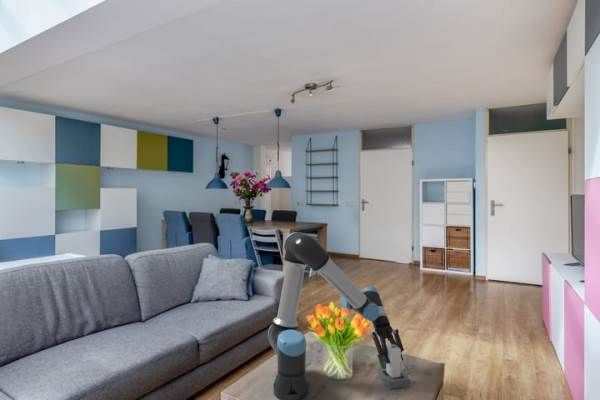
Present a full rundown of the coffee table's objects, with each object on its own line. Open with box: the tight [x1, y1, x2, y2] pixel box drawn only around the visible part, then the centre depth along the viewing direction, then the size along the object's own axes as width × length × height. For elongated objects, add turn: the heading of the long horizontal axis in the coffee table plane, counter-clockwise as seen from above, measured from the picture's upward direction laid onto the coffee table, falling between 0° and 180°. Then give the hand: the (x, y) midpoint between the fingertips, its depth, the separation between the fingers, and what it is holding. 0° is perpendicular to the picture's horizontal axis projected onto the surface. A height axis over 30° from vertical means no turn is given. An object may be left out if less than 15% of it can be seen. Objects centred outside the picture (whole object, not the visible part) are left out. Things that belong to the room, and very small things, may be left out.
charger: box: [386, 344, 402, 378], centre depth 155 cm, size 4×5×13 cm
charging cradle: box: [377, 369, 410, 390], centre depth 155 cm, size 9×10×3 cm
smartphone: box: [376, 354, 386, 370], centre depth 172 cm, size 8×1×15 cm
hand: (398, 370), depth 151 cm, fingers closed on charger, 4 cm apart
